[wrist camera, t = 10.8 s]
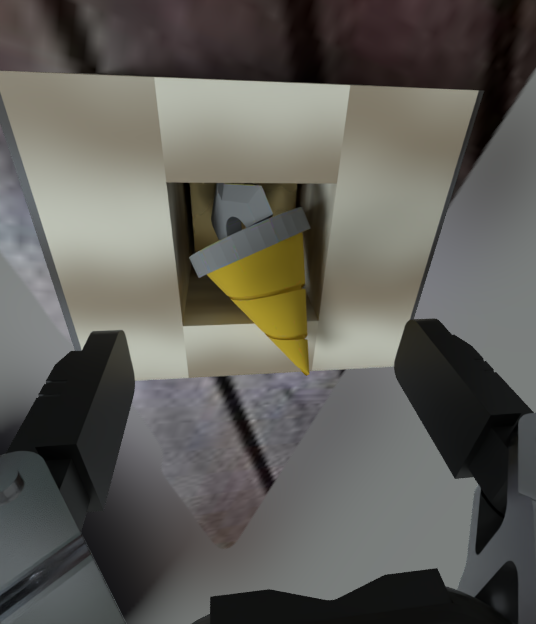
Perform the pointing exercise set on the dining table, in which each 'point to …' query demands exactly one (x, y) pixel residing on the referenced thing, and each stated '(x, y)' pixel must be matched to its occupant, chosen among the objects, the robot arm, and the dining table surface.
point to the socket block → (233, 169)
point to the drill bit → (260, 265)
